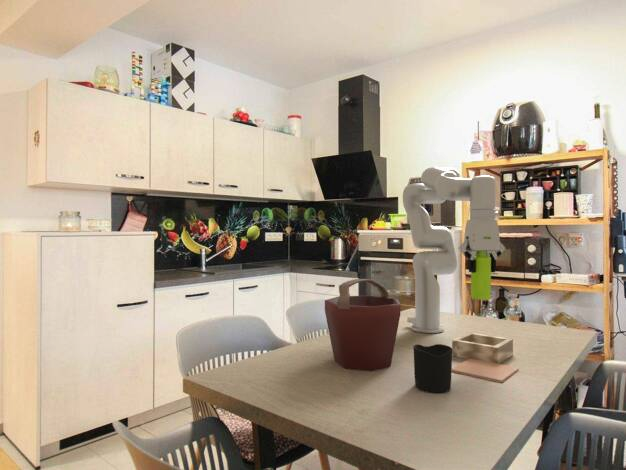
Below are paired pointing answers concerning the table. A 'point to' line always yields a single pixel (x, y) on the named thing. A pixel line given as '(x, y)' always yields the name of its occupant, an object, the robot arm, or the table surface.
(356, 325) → the bucket
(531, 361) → the table surface
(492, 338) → the open box
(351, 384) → the table surface
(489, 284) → the soap dispenser
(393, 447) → the table surface
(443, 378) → the pen holder
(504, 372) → the plate
